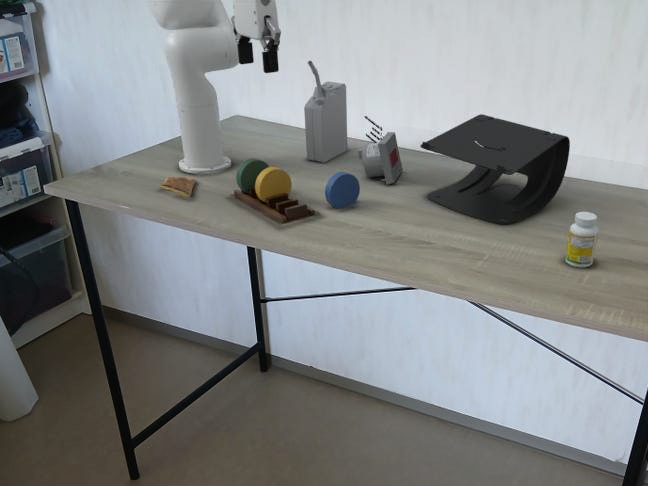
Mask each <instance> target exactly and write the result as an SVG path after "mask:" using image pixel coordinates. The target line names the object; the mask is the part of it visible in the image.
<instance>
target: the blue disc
mask: <svg viewBox="0 0 648 486" xmlns="http://www.w3.org/2000/svg"><path fill="white" fill-rule="evenodd" d="M324 190H325V191H324V197H325V199H326V202H327V203H328V205H330V206H331V207H333V208H335V209H341V208H344V207H348V206H351V205H352V206H353V205H354V204H356V202H357V201H358V200H359V199H358V198H359V196H360V193H361V184H360V181H359V179H358V178H357V177H356V176H355V175H353V174H352V173H349V172H347V171H338V172H336V173H334V174H333V175H331V176H330V178H329V179H328V181H327V183H326V185H325V188H324Z"/></svg>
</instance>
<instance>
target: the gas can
mask: <svg viewBox="0 0 648 486" xmlns="http://www.w3.org/2000/svg"><path fill="white" fill-rule="evenodd" d="M307 64H308V66H309V69H311V72H312V75H314V78H315V83H316V86H315V87H314V90H313V93H312V96H311V97H310V98H309V99H308V100H307V102H306V103H305V105H304V107H303V108H304V109H303V111H304V129H305V148H306V160H307V161H313V162H316V163H317V162H318V163H323V164H324V163H327V162H328V161H329V160H332V159H334V158H335V157H337V156H339V155H342V154H343V153H345V152H346V151H348V113H347V112H348V111H347V106H348V105H347V104H348V103H347V85H346V84H345V83H343V82H336V81H330V80H329V81H325V82H324V83H322V84H321V78H320V75H319V71H318V69H317V67H316V66H315V64H314V63H313V60H309V61H307Z"/></svg>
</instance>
